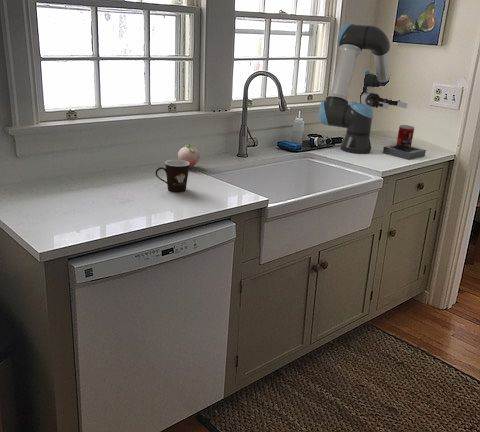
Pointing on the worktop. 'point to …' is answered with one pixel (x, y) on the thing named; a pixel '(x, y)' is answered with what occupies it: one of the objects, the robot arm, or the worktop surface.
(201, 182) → the worktop surface
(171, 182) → the coffee mug
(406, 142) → the canned food
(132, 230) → the worktop surface
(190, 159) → the decorative fruit
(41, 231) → the worktop surface
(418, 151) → the square holder
